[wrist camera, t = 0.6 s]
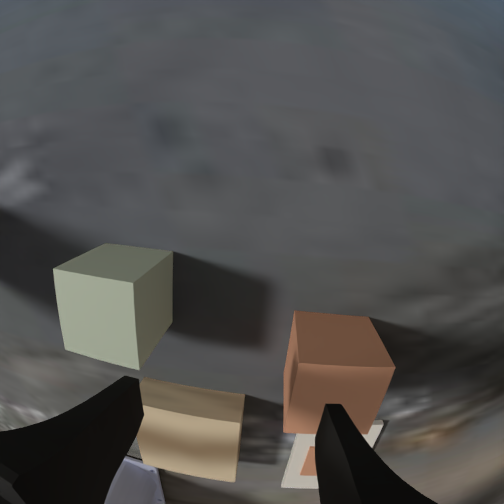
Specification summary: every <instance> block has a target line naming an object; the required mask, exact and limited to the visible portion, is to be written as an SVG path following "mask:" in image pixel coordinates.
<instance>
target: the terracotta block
mask: <svg viewBox="0 0 504 504" xmlns="http://www.w3.org/2000/svg"><path fill="white" fill-rule="evenodd" d="M394 370H395V365H394V363H393V362H392V360H391V358H390V356H389V354H388V352H387V350H386V348H385V346H384V345H383V343H382V341H381V339H380V337H379V335H378V333H377V332H376V330H375V328H374V326H373V324H372V323H371V321H370V319H369V317H363V316H350V315H337V314H326V313H315V312H304V311H294V317H293V323H292V329H291V335H290V341H289V347H288V352H287V358H286V364H285V369H284V425H283V432H284V433H299V434H316V433H317V430H318V427H319V423H320V420H321V417H322V413H323V410H324V407H325V403H326V404H342V406H343V407H344V409H345V410H346V412H347V413H348V415H349V417H350V418H351V420H352V421H353V423H354V424H355V426H356V427H357V429H358V430H359V431H360V433H361V434H368V433H369V430H370V428H371V426H372V424H373V422H374V419H375V417H376V415H377V413H378V410H379V408H380V406H381V403H382V401H383V398H384V396H385V393H386V391H387V388H388V386H389V383H390V381H391V378H392V375H393V373H394Z"/></svg>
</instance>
